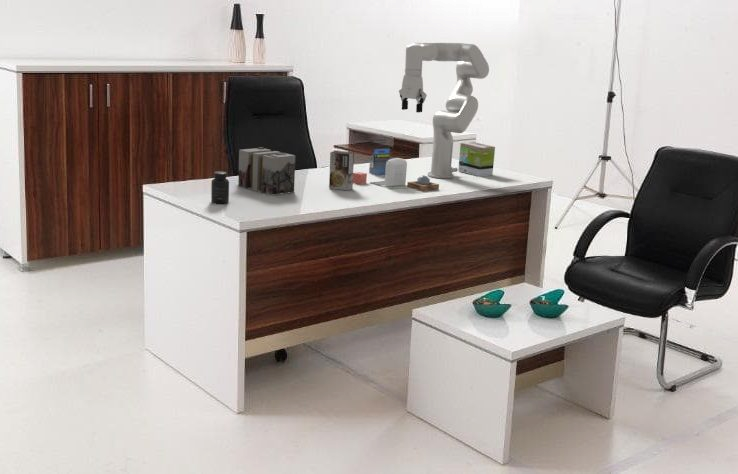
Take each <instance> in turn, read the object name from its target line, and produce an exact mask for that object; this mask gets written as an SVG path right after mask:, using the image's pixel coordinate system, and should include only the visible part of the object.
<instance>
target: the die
mask: <svg viewBox="0 0 738 474" xmlns="http://www.w3.org/2000/svg"><path fill="white" fill-rule="evenodd" d="M353 184H357V185H363V184H367V173H366V172H359V171H357V172H353Z"/></svg>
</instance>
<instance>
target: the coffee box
mask: <svg viewBox="0 0 738 474" xmlns="http://www.w3.org/2000/svg"><path fill="white" fill-rule="evenodd" d="M329 154H330V155H329V156H330V157H329V178H328V179H329V185H328V189H332V190H340V191H341V190H342V191H348V192H349V191H350V190H352V189H354V188H353V187H354V185H353V184H354V183H353V173H354V166H355V165H354V161H355V159H354V158H355V151H353V152H352V151H345V150H333V151H330V153H329Z"/></svg>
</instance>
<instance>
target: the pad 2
mask: <svg viewBox="0 0 738 474" xmlns="http://www.w3.org/2000/svg"><path fill="white" fill-rule="evenodd" d="M379 187H381V188H385V189H388V190H390V189H391V190H393V189H399V188H408V187H407V184H405V185H401V186H385V185H380V186H379Z"/></svg>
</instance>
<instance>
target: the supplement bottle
mask: <svg viewBox="0 0 738 474" xmlns="http://www.w3.org/2000/svg"><path fill="white" fill-rule="evenodd" d="M227 176H228V175H227V172H226V171H221V170H219V171H214V172H213V179H212V180H211V182H210V183H211V184H210V185H211V186H210V187H211V188H210V189H211V191H210V192H211V194H210V195H211V197H210V198H211V199H210V200H211V203H212V204H214V203H216V204H215V205H225V203H226V204H228V203H229V202H230V201H229V200H230V180H229V179H227Z"/></svg>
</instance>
